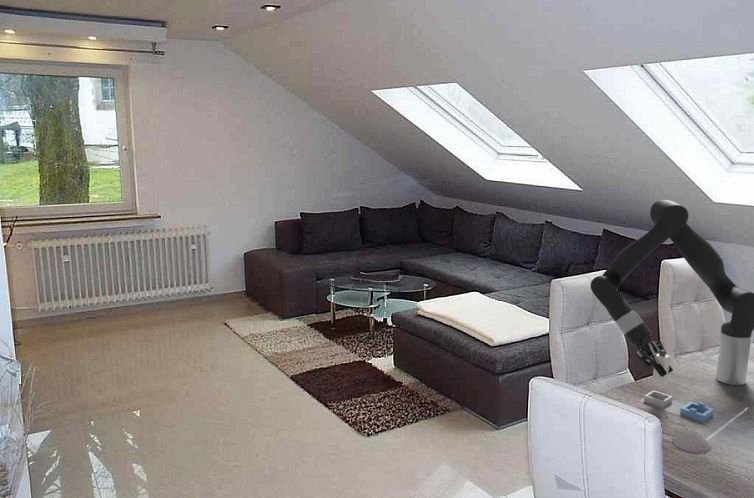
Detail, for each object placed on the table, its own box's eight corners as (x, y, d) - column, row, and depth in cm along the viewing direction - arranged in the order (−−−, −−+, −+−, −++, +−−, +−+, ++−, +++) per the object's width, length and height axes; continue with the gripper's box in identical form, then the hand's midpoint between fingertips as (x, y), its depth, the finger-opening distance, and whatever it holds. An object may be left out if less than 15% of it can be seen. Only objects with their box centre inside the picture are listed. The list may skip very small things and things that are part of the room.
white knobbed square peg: (652, 384, 198) (655, 350, 196) (657, 381, 200) (660, 348, 198) (662, 388, 195) (665, 353, 193) (667, 385, 198) (670, 350, 195)
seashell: (684, 422, 181) (717, 429, 172) (686, 440, 181) (719, 449, 172) (661, 429, 176) (694, 437, 167) (663, 448, 176) (696, 457, 167)
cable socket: (637, 403, 199) (638, 393, 199) (650, 395, 205) (651, 385, 205) (705, 426, 184) (706, 415, 183) (717, 417, 190) (719, 406, 189)
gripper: (630, 326, 195) (666, 374, 188) (652, 317, 204) (686, 362, 197) (614, 338, 200) (648, 385, 193) (635, 329, 209) (668, 373, 202)
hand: (667, 373), depth 195 cm, fingers closed on white knobbed square peg, 3 cm apart
